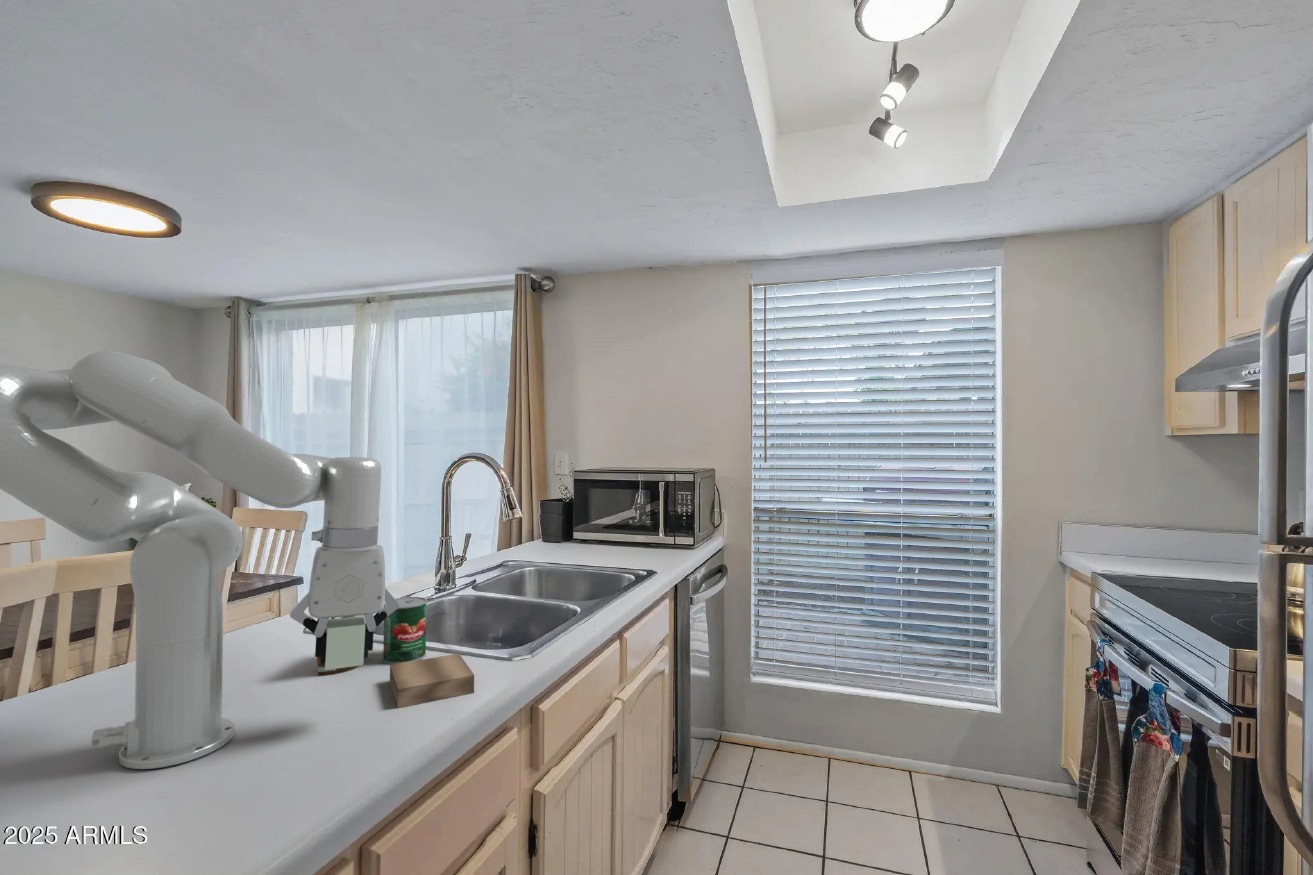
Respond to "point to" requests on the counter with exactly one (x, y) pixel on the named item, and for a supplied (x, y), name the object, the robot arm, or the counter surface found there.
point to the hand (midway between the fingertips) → (344, 657)
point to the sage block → (345, 642)
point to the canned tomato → (405, 631)
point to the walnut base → (430, 680)
